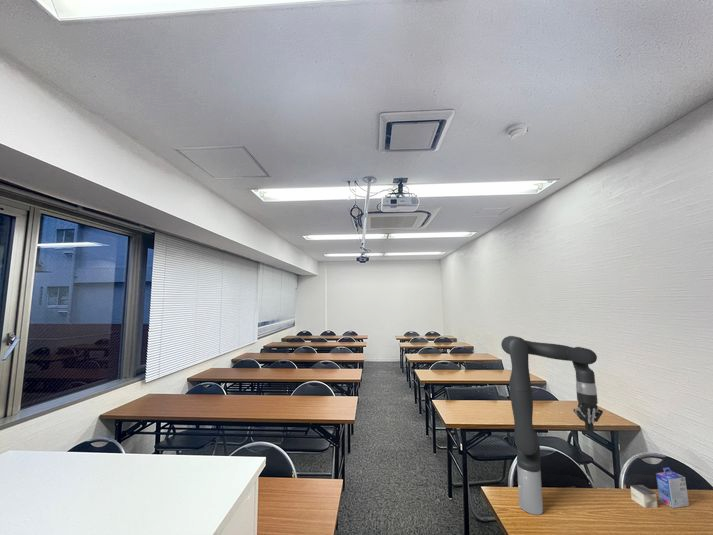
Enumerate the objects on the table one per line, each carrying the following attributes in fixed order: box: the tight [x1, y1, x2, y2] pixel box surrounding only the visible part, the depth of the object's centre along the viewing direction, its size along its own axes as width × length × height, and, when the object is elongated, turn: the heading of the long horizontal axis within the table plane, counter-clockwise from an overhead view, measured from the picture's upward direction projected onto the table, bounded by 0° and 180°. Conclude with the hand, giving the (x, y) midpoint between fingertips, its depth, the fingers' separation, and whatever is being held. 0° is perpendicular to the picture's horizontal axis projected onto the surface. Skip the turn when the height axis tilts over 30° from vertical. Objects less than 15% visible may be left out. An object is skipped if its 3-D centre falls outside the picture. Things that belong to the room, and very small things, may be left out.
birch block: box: [630, 484, 658, 509], centre depth 134 cm, size 6×6×6 cm
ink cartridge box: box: [655, 466, 690, 509], centre depth 135 cm, size 10×6×14 cm, turn 101°
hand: (589, 431), depth 134 cm, fingers closed
